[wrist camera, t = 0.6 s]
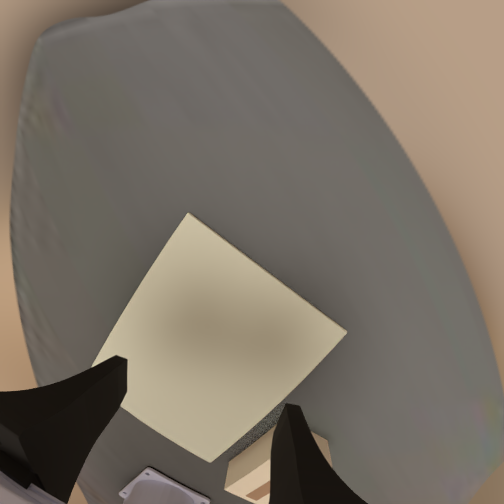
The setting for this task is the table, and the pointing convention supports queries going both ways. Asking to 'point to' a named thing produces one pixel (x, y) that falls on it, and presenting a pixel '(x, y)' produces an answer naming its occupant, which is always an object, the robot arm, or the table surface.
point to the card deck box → (258, 469)
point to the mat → (213, 342)
